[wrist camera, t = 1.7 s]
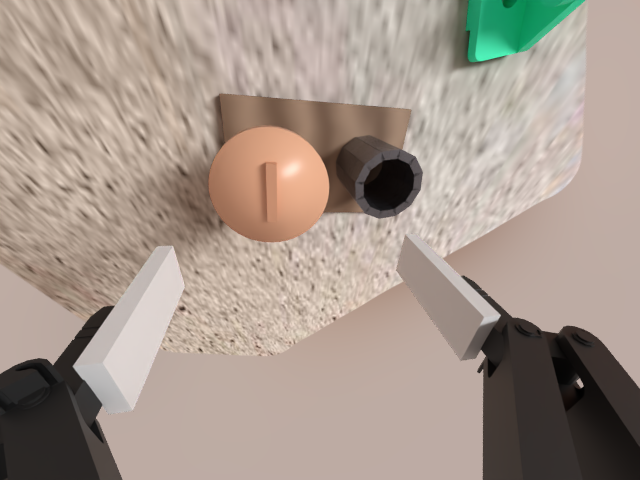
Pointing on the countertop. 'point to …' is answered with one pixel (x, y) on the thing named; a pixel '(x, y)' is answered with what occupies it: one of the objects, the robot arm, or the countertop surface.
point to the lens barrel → (379, 176)
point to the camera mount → (511, 25)
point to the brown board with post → (319, 130)
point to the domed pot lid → (268, 184)
